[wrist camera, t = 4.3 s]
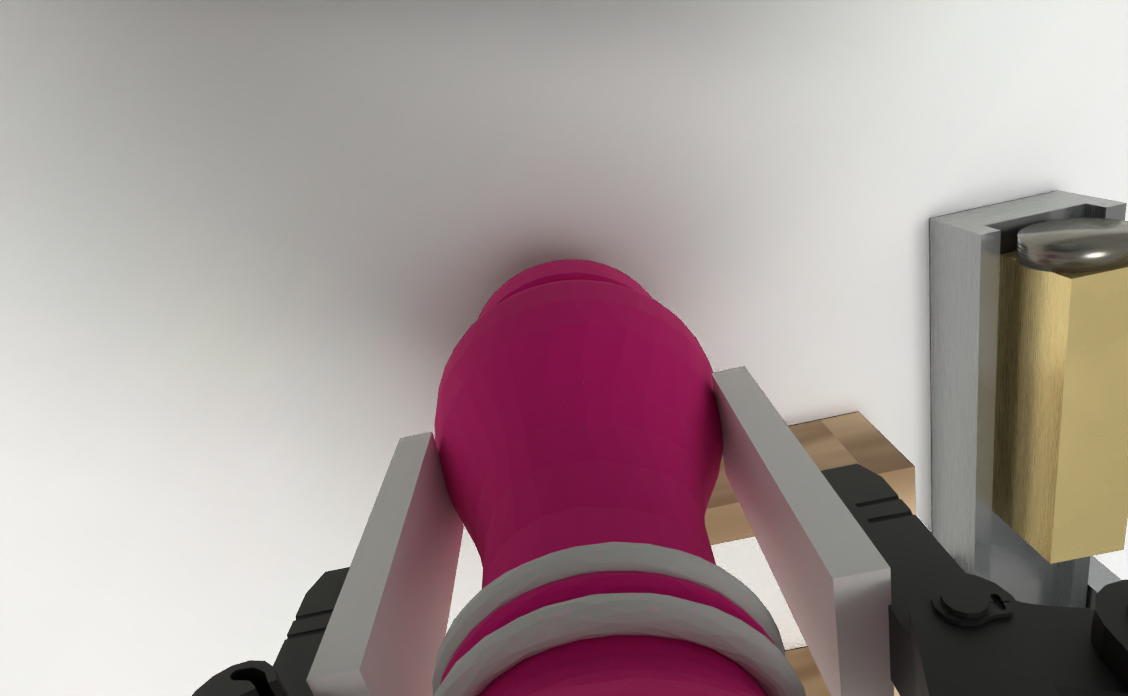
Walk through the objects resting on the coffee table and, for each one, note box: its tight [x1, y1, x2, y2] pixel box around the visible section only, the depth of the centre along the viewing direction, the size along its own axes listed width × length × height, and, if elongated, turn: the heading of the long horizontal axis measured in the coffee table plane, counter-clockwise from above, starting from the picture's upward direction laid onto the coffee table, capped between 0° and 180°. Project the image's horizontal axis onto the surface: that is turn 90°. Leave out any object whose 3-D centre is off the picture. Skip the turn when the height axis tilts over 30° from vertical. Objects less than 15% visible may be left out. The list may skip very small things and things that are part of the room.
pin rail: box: [930, 191, 1126, 609], centre depth 23 cm, size 20×7×7 cm, turn 12°
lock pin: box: [992, 218, 1128, 564], centre depth 21 cm, size 11×3×3 cm, turn 12°
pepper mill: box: [432, 260, 806, 696], centre depth 11 cm, size 7×7×20 cm
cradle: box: [705, 412, 916, 696], centre depth 26 cm, size 13×13×4 cm
